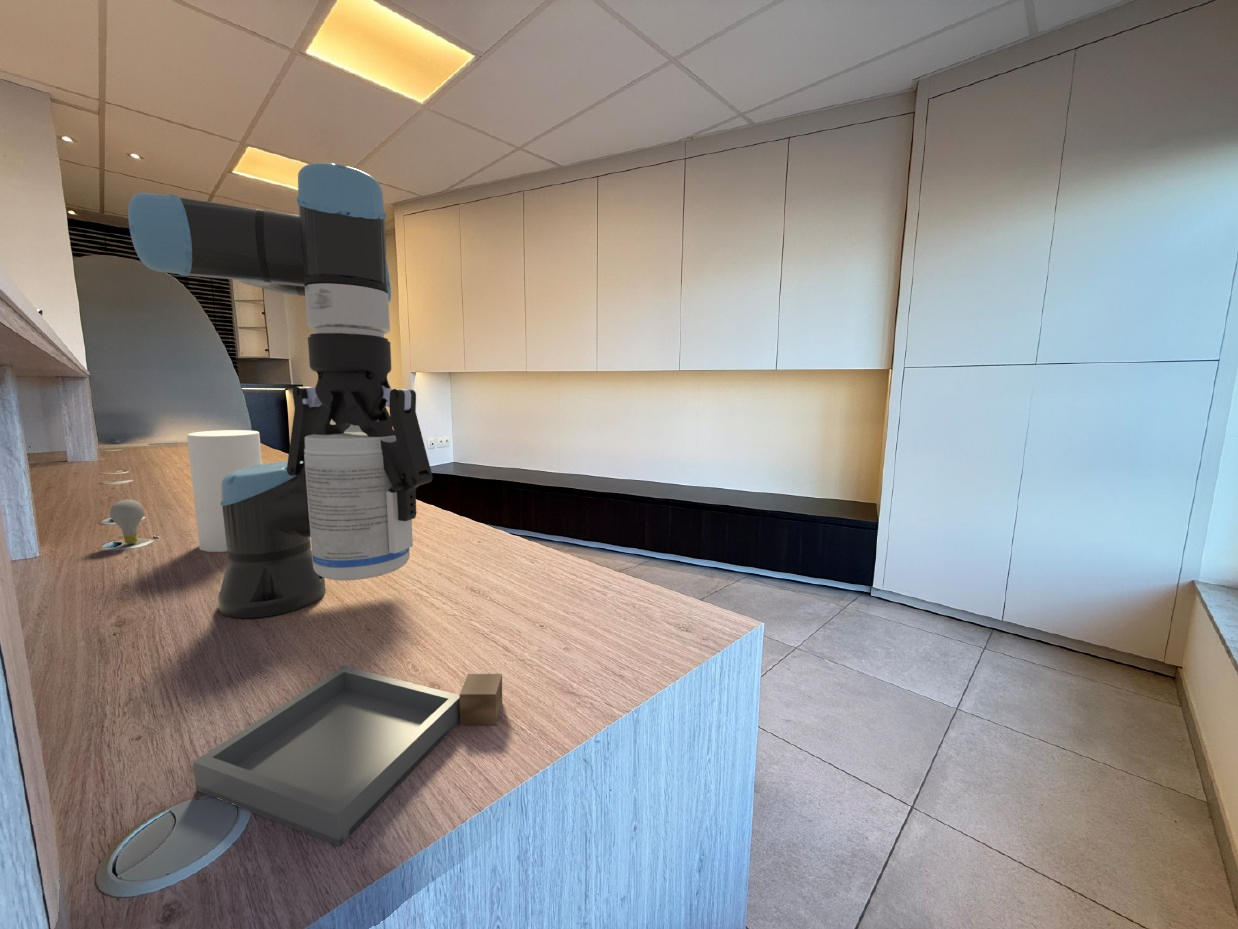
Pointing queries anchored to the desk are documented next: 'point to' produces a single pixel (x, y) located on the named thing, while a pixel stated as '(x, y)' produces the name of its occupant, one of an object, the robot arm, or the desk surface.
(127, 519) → the light bulb
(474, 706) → the walnut block
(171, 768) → the desk surface
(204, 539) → the cylinder
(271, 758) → the tray
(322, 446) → the supplement tub
